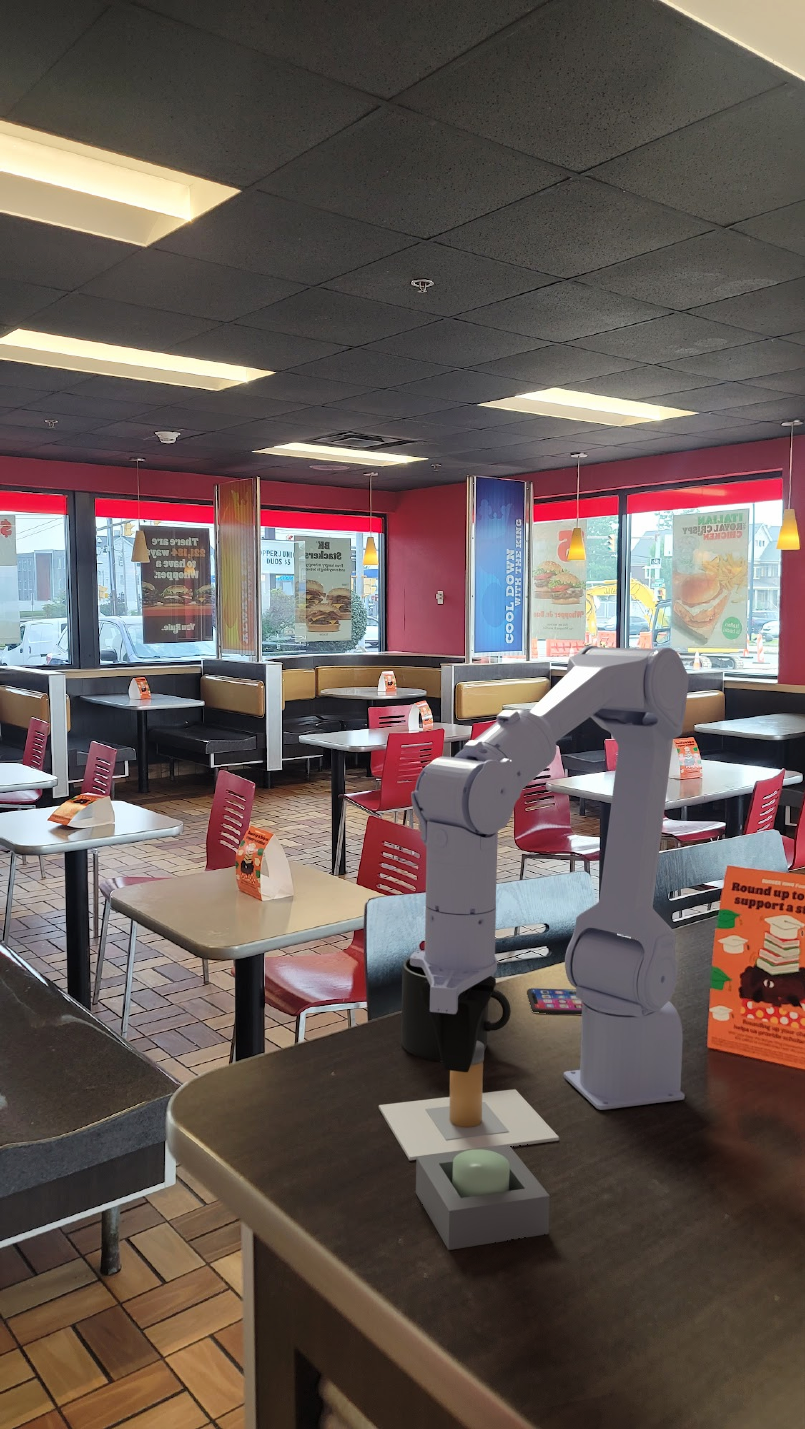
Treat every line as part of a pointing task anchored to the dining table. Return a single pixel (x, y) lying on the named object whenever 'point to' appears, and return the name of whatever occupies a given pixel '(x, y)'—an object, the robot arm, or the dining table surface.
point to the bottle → (467, 1092)
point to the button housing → (482, 1203)
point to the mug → (419, 1024)
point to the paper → (433, 1133)
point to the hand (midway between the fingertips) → (457, 1067)
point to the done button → (480, 1173)
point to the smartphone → (554, 1001)
